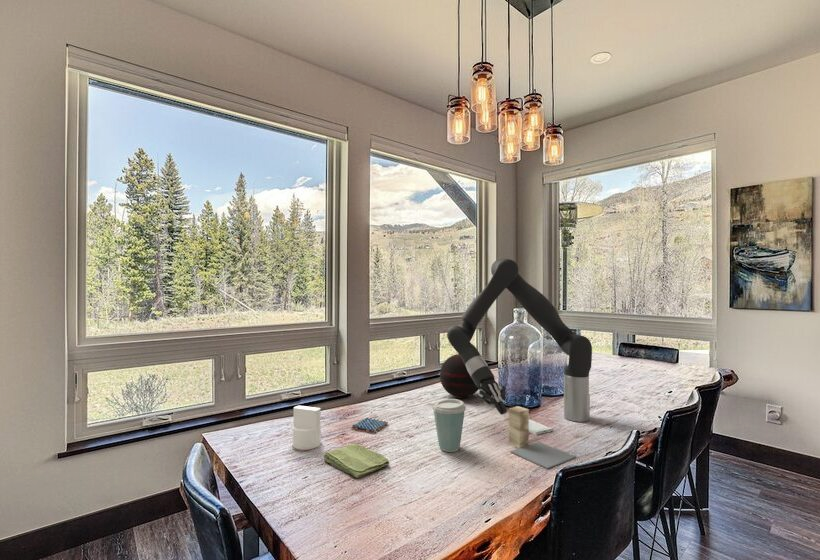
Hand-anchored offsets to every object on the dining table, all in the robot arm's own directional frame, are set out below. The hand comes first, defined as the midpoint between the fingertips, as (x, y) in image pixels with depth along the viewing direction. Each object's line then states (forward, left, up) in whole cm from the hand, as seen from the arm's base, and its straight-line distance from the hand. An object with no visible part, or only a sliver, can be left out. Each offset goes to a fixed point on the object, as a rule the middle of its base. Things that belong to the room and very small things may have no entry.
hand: (504, 413), depth 143 cm
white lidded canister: (+58, -34, -9) cm, 68 cm away
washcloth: (+51, -12, -10) cm, 53 cm away
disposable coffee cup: (+21, -5, -9) cm, 23 cm away
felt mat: (0, +16, -9) cm, 18 cm away
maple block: (0, +6, -9) cm, 11 cm away
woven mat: (+33, -36, -10) cm, 50 cm away
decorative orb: (-22, -47, -9) cm, 52 cm away
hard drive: (-17, -2, -10) cm, 20 cm away
